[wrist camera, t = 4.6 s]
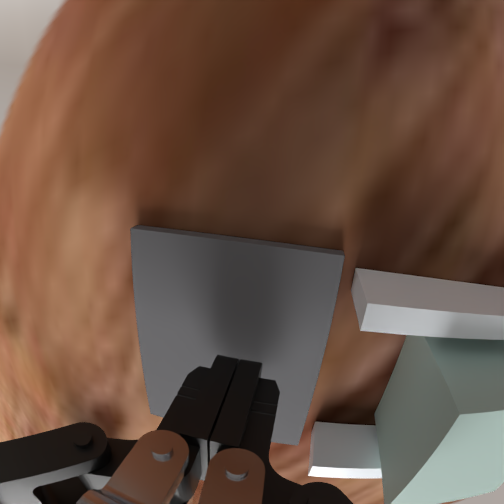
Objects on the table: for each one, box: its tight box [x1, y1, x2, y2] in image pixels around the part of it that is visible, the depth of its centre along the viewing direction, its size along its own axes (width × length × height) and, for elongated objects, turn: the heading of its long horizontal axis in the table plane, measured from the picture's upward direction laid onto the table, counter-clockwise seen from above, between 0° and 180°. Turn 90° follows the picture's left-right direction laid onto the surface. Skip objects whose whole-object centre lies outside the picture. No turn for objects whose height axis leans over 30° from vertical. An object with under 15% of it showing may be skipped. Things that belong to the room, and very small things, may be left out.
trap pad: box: [131, 225, 345, 445], centre depth 11 cm, size 9×7×1 cm
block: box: [374, 335, 504, 504], centre depth 8 cm, size 5×5×5 cm
